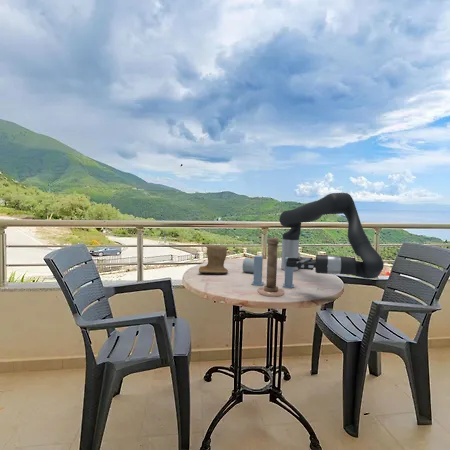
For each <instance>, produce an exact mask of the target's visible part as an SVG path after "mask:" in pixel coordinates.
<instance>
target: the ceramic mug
mask: <svg viewBox="0 0 450 450" xmlns="http://www.w3.org/2000/svg"><path fill="white" fill-rule="evenodd" d="M242 271H243V273H251V274H254V258H249V257H245V258H243V262H242Z"/></svg>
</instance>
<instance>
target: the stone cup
mask: <svg viewBox="0 0 450 450" xmlns="http://www.w3.org/2000/svg"><path fill="white" fill-rule="evenodd" d="M227 251H228V249H227V247H226V246H224V245H223V246H222V245H215V244H209V245H208V246H207V249H206V256H207V264H206V265H204V266H203V265H202V266H200V267H199V268H198V273H199V274H215V275H216V274H226V273H228V272H229V270H228V269H227V268H225V265H224V264H225V261H226V258H227V254H228V252H227Z"/></svg>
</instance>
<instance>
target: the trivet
mask: <svg viewBox="0 0 450 450" xmlns="http://www.w3.org/2000/svg"><path fill="white" fill-rule="evenodd" d="M256 292H258V293H259V294H258V293H257V294H258V295H261V296H263V297H271V298H273V297H274V298H275V297H277V298H278V297H282V296H284V295H285V290H284V289H282V288H279V287H278V292H266V291H264V286H261V287H259V288H257V291H256Z"/></svg>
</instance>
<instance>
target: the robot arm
mask: <svg viewBox="0 0 450 450" xmlns="http://www.w3.org/2000/svg"><path fill="white" fill-rule="evenodd" d="M341 214H343V215H344V216H345V218H346V220H347V224H348V225H347V226H348V227H347V239H348V241H349V242H348V243H349V244H350V246H351V248H352V250H353V252H354V254H355V255H356V256H357V257H360V259H361V261H359V260H356V258H355V257H354V256H353V257H352V256H341V255H334V254H332V255H330V254H316V255H315V259H313V257H306V256H305V257H304V256H301V253H300V252H299V250H300V248H299V247H300V236H301V231H302V230H301V229H302V223H311V222H315V221H317V220H319V219H321V217H322V216H325V215H341ZM279 223H280V225H281V226H282V227H284V228H290V229H289V230H288V231H286V232H284V233H283V234H282V238H281V239H282V240H281V241H282V244H281V268H280V269H281V270H282V271H285V258H286V257H291V258H287V262H286V266H287V267H293V272H295V271H299V270H311V271H313V270H314V268H315V271H314V272H315V274H324V275H348V276H354V277H359V278H363V279H368V280H369V279H375V278H376V279H377V278H378V276H380V274H381V273H382V271H383V270H384V266H385V264H384V260H383V259H382V257H381V255H380V254H379V253H378V252H377V250H376V249H375V248H374V247H373V246H372V244H371V242H370V240H369V238H368V236H367V234H366V233H365V230H364V228H363V226H362V223H361V220H360V216H359V213H358V210H357V207H356V204H355V202H354V199H353V197H352V195H350V193H348V192H333V193H331V192H330V193H329V194H327V195H325V196H323V197H322V198H320V199H318V200H314V201H310V202H308V203H305V204H303V205H300V206H298V207H296V208H293V209H289V210H284V211H283V212H281V213H280V216H279Z"/></svg>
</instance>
